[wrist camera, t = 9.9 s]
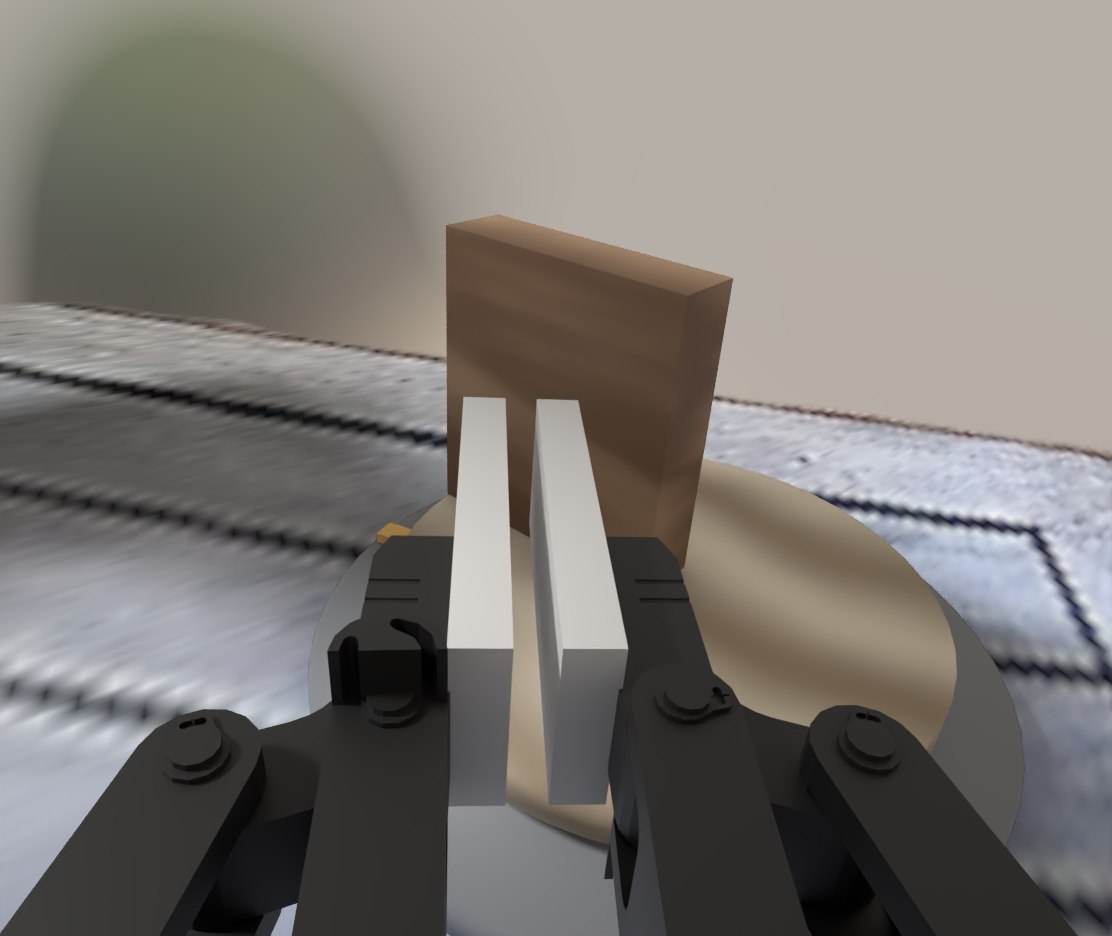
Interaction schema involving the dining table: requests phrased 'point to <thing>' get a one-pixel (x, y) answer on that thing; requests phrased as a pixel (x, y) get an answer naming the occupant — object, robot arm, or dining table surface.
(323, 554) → the dining table surface
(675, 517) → the dial
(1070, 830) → the dining table surface
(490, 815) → the base
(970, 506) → the dining table surface
